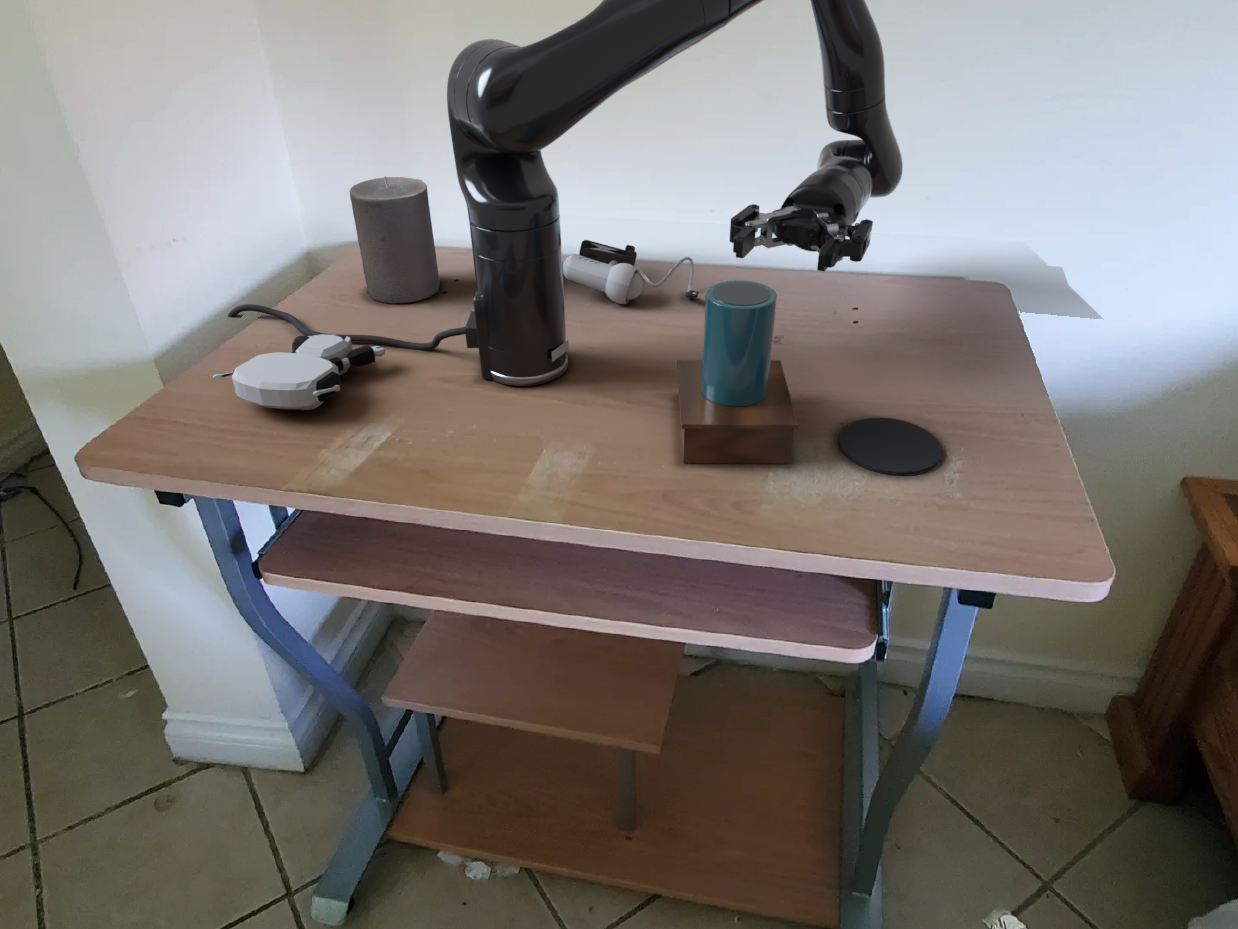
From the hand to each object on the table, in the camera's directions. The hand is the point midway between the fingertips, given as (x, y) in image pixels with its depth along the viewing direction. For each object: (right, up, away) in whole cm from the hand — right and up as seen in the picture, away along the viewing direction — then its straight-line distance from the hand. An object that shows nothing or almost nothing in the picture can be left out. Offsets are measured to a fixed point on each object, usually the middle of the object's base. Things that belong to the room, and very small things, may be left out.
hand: (779, 255), depth 86 cm
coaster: (+10, -19, -3) cm, 22 cm away
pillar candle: (-45, +2, +30) cm, 54 cm away
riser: (-5, -17, 0) cm, 18 cm away
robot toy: (-50, -13, +8) cm, 52 cm away
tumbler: (-5, -14, -3) cm, 15 cm away
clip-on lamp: (-14, +2, +28) cm, 32 cm away
